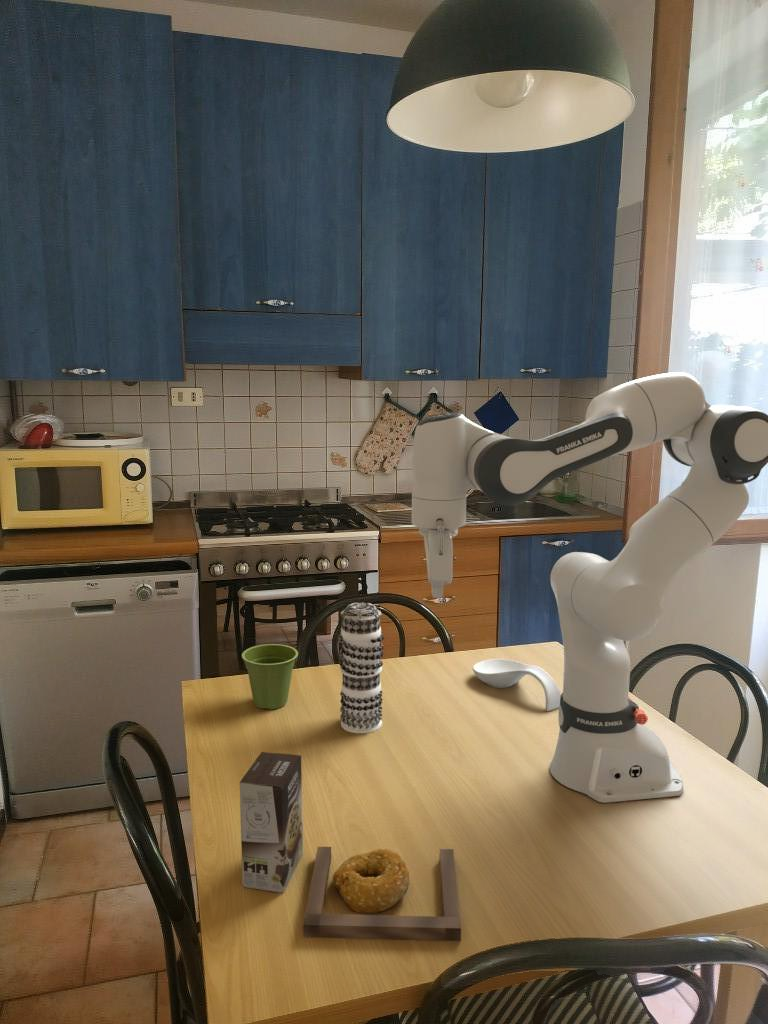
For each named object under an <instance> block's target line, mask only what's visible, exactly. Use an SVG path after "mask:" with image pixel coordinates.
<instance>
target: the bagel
mask: <svg viewBox="0 0 768 1024" xmlns="http://www.w3.org/2000/svg"><path fill="white" fill-rule="evenodd" d="M332 883H333V885H334V887H335V888H337V890H338V891H339V892H340V895H341V897H342V899H343V900H344V903H346V904H347V905H348V906H349V908H350V909H351V910H354V911H355V912H356V913H361V914H362V913H363V914H368V913H369V914H370V913H373V914H375V913H377V914H378V913H381V912H384V911H386V910H388V909H390V908H392V907H393V906H395V905H396V903H398V902H399V901H401V900H402V899H403V897H404V896H405V895H406V894H407V892H408V891H409V886H410V871H409V868H408V866H407V864H406V863H405V861H404V860H403V859H402V857H401V855H400V854H399V853H398V852H394V851H393V850H391V849H386V848H384V849H383V848H382V849H381V848H378V849H373V850H372V851H369V852H366V853H360V854H356V855H353V856H350V857H349V858H347V859H346V860H344V861H343V862H342V863H341V865H339V867H338V868H337V870H336V871H335V872H334V873H333V875H332Z"/></svg>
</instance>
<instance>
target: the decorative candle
mask: <svg viewBox="0 0 768 1024" xmlns="http://www.w3.org/2000/svg"><path fill="white" fill-rule="evenodd" d="M381 616H382V612H381V610H379V609H378V608H377V606H376V605H375V604H372V603H370V602H365V601H364V602H362V601H361V602H353V603H350V604H348V605H347V606H346V607H345V609H343V610H341V612H340V617H341V628H340V634H339V635H337V636H338V637H337V638H338V647H337V648H338V650H339V654H338V655H339V657H338V658H339V663H338V664H339V666H340V668H339V669H340V670H339V671H340V672H341V674H342V682H341V691H340V692H339V695H340V697H341V698H340V699H339V700H340V707H339V708H340V709H339V710H340V715H339V717H340V720H341V721H340V725H341V728H342V729H344V730H345V731H346V732H349V733H353V734H370V733H373V732H377V731H378V730H379V729H380V728H381V727H382V725H383V721H382V720H383V709H384V708H383V706H382V704H383V698H382V696H383V690H382V683H381V673H382V671H383V665H384V663H383V661H382V660H381V658H382V657H384V652H383V651H382V650H383V649H384V644H383V643H381V642H382V641H384V640H385V635H384V634H382V627H381V619H380V618H381Z"/></svg>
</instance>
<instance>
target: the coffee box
mask: <svg viewBox="0 0 768 1024" xmlns="http://www.w3.org/2000/svg"><path fill="white" fill-rule="evenodd" d="M302 777H303V775H302V755H301V754H300V755H299V754H294V753H293V754H292V753H282V752H278V753H277V752H265V751H261V752H260V753H259V755H258V757H257V758H255V760H254V762H253V763H252V765H251V766H249V769H248V770H247V772H246V773H245V774H244V775H243V777H242V778H241V780H240V781H239V805H240V839H241V840H240V842H241V844H240V845H241V872H242V873H241V874H242V875H241V879H242V881H241V882H242V887H243V888H248V889H256V890H262V891H269V892H275V893H279V894H280V893H281V894H282V893H285V891H286V888H287V887H288V885H289V883H290V881H291V878H292V877H293V874H294V873H295V871H296V869H297V866H298V864H299V862H300V861H301V858H302V857H303V854H304V838H303V836H304V835H303V833H304V832H303V831H304V830H303V828H304V827H303V825H304V824H303V790H302V789H303V786H302V785H303V783H302V781H303V780H302V779H303V778H302Z"/></svg>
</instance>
